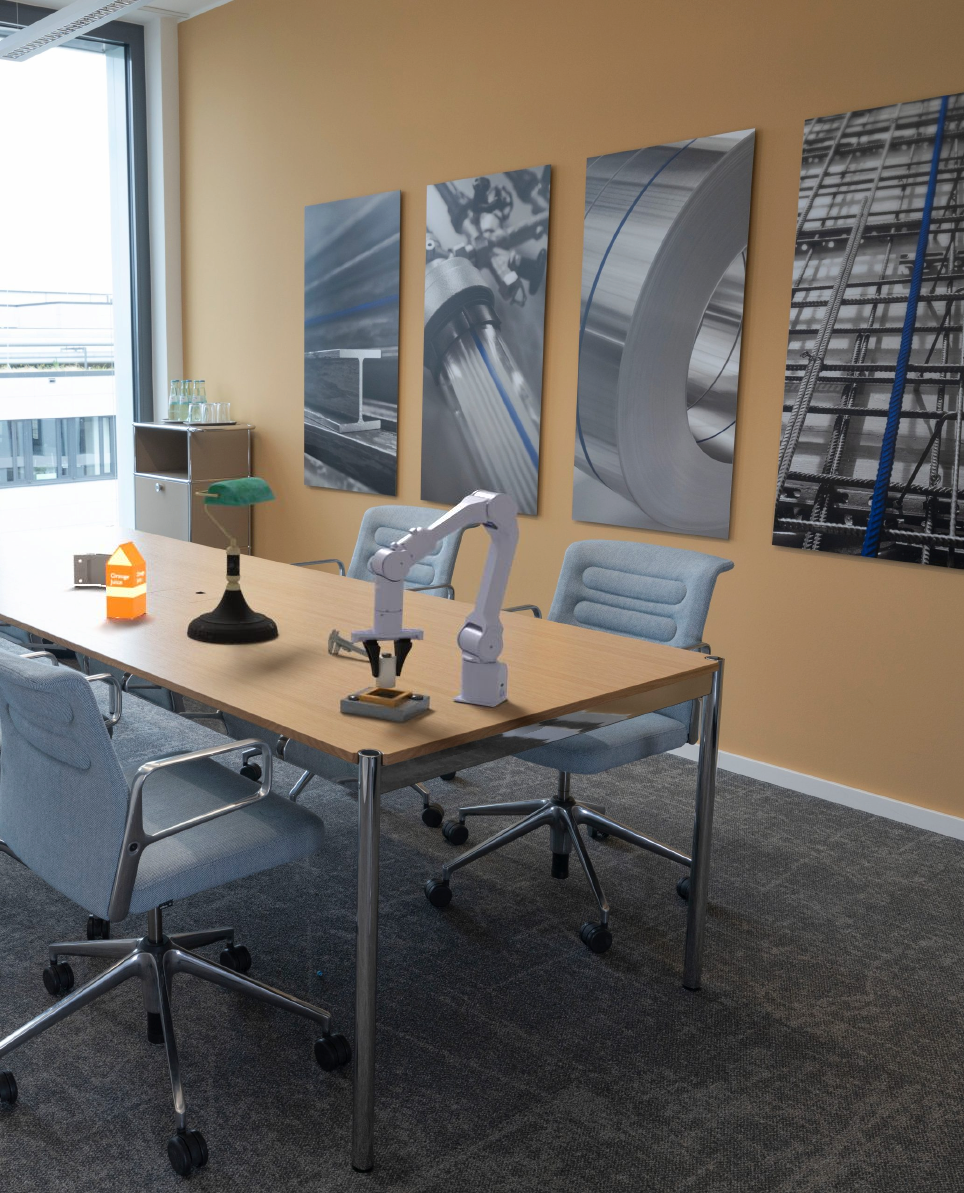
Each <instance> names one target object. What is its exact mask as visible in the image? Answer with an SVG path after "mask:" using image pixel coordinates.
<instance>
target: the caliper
mask: <svg viewBox="0 0 964 1193" xmlns="http://www.w3.org/2000/svg"><path fill="white" fill-rule="evenodd" d="M339 634H340V630H337V629H336V628H335V629H332V632H331V633H329V637H328V640H327V652H328V654H332V653H333V655H338V654H339V652H340V650H341V649H342V650H344V651H346V652H348V653H351V652H355V653H357V654H359V655H361V656H364V657H366V658H368V655H367V652H366V650H365V648H364V646H363V647H362V646H360V645H358V644H357V643H353V642H352V641H351V639H349V638H346V637H344V636H343V635H339Z"/></svg>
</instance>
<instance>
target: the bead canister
mask: <svg viewBox="0 0 964 1193" xmlns="http://www.w3.org/2000/svg"><path fill="white" fill-rule="evenodd" d="M396 684H397V676H396V656H395V654H393V653H391V652H382V653H381V654H380V655H379V676H378V678H375V687H379V688H393V689H395V687H396Z"/></svg>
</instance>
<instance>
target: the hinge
mask: <svg viewBox="0 0 964 1193" xmlns="http://www.w3.org/2000/svg"><path fill="white" fill-rule="evenodd" d="M112 555H113V553H112V554H109V553H96V554H95V553H93V552H92V553H91V552H88V553H87V552H86V553H85V554H73V585H74V584H101V585H106V563H107V562H108V561H109V559H110V558H111V556H112ZM80 560H81V561H80ZM80 580H81V581H80Z"/></svg>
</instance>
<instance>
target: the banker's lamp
mask: <svg viewBox="0 0 964 1193" xmlns="http://www.w3.org/2000/svg"><path fill="white" fill-rule="evenodd" d="M194 494H195V496H197V497H199V496H200V497H204V499H203V500H204V501H203V505H204V511H205V512H206V513H207V515H208V516H209V517H210V518H211V520H212V521H213V522H214V523H215V524H216V525H217V526H218V528H220V530H221V531H222V532H223V534H224V535H225V536H226V537H227V538H228V539H229V541H230V546H228V547H226V550H225V554H226V575H225V579H226V581H227V582H228V583H226V584H225V585H226V586H225V589H224V592H223V594H222V597H221V599H220V601H219V603H218V604H217V606H216V607H215V608H214V609H213V610H212V611H209V612H205V613H202V614H200V615H199V616H197V617H196V618H193V619H192V620H191V621H190V622H189V624H188V625H187V630H186V635H187V636H188V637H189V638H191V639H193V640H197V641H199V640H200V641H199V642H204V641H205V642H206V643H212V642H214V643H213V644H227V643H229V644H234V643H236V644H251V643H260V642H265V641H267V640H268V641H269V640H272V639H274V638H275V637H276V636H278V635H279V631H278V626H277V623H276V622H275V620H273V619H272V618H270V617H269V616H267V615H265V614H263V613H261V612H256V611H254V610H253V609H252V608H251V607H250V606H249V604H248V602H247V600H246V598H245V596H244V595H243V591H242V589H241V584H240V583H239V581H240V580H241V571H240V570H241V549H240V547H239V546H237V538H234V537H233V536H232V535H231V534H230V533H229V532H228V531H227V530H226V528H225V527H224V526H223V525H222V524H221V523H220V521H218V519H217V518H216V517H215V516H214V514H212V512H210V510H209V508H208V507H209V506H210V505H213V506H226V507H227V506H228V507H244V506H246V507H247V506H250V505H255V504H260V503H261V504H262V503H264V502H269V501H275V500H276V499H277V498H276V495H275V493H274V492H273V490H272V489H271V487H270V486H269V484H268V483H267V482H266V481H265V480H264V479H262V478H260V477H254V476H253V477H251V476H250V477H244V478H237V479H230V480H224V481H223V480H222V481H217V482H215V483H212V484H211V485H209V487H208V489H207V490H202V491H196V492H195V493H194Z"/></svg>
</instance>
